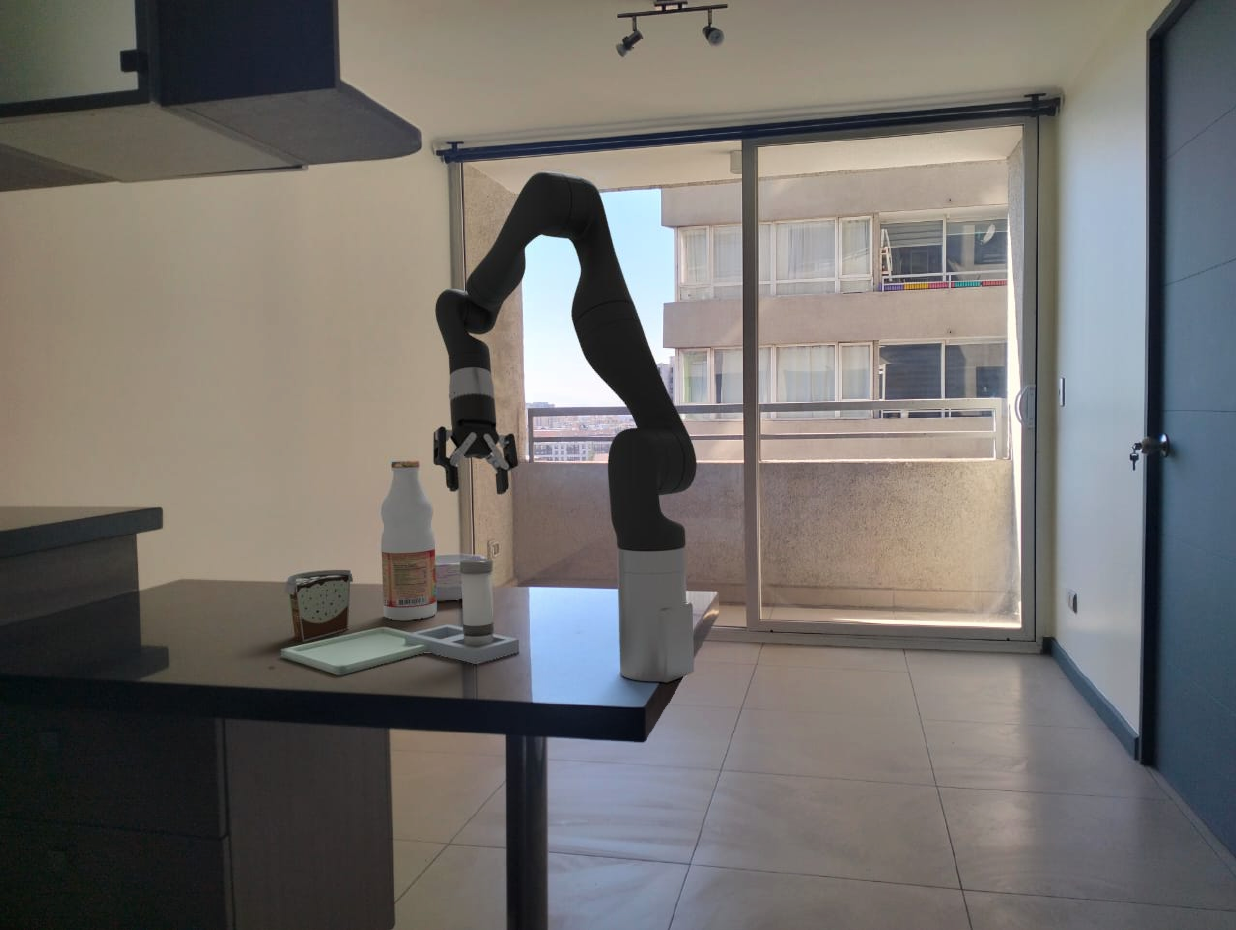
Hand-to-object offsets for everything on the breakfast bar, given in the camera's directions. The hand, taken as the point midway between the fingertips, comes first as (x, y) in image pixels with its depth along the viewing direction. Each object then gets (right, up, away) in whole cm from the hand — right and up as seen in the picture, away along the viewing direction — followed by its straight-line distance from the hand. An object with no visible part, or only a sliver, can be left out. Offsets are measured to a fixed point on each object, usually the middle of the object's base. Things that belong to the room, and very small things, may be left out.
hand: (478, 491), depth 144 cm
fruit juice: (-15, -23, +15) cm, 31 cm away
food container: (-28, -24, +2) cm, 37 cm away
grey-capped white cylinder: (+2, -24, -13) cm, 27 cm away
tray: (-16, -24, -11) cm, 31 cm away
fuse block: (-1, -24, -10) cm, 26 cm away
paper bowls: (-11, -22, +31) cm, 40 cm away
